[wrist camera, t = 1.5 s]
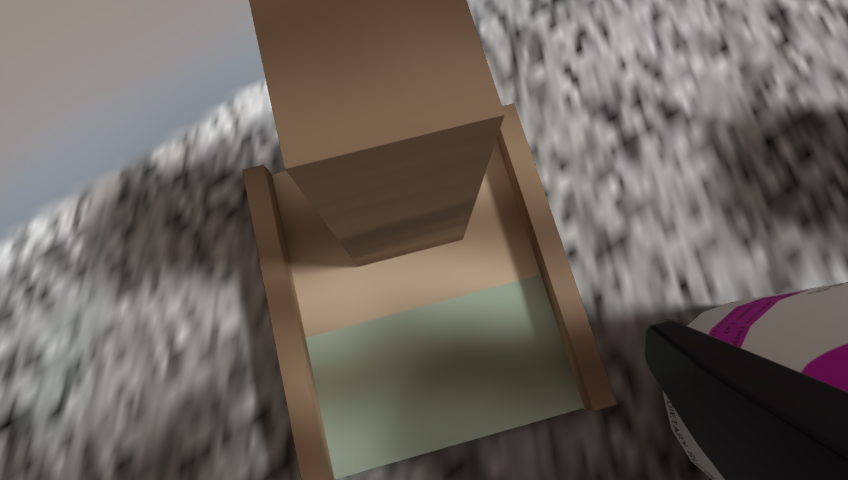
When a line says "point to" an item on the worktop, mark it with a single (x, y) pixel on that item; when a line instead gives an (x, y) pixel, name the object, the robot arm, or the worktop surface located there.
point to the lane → (424, 324)
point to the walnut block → (381, 116)
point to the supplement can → (779, 342)
